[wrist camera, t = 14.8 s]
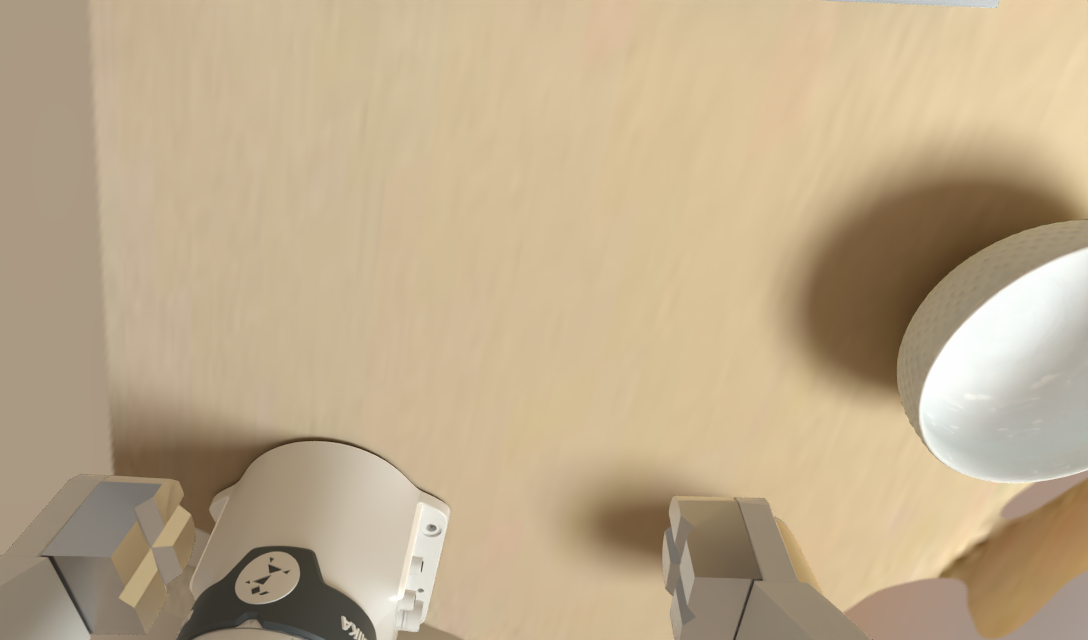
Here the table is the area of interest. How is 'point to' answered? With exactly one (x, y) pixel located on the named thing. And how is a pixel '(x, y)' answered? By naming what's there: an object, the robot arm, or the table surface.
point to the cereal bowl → (1005, 359)
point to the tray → (937, 2)
